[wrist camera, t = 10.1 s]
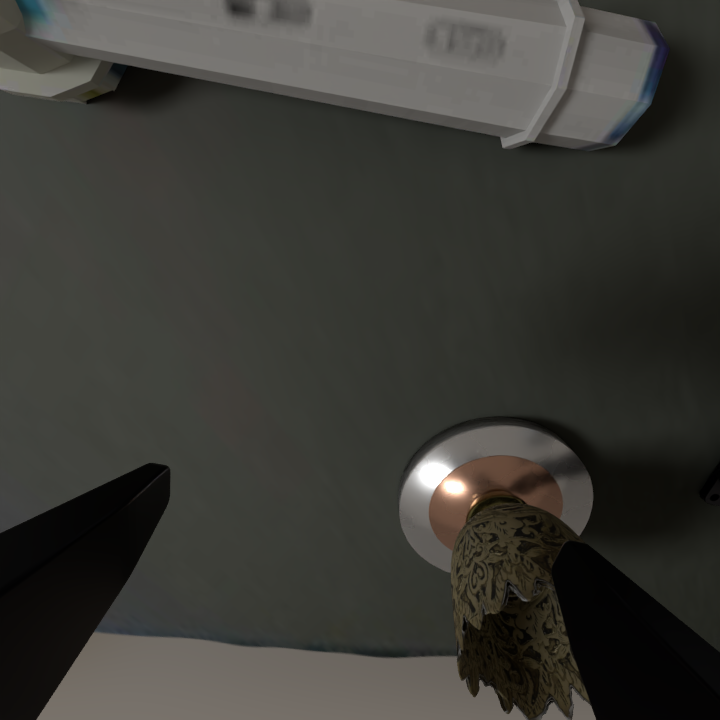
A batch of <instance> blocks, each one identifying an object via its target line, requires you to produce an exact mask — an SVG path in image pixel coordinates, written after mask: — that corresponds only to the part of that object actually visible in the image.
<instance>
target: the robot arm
mask: <svg viewBox="0 0 720 720" xmlns="http://www.w3.org/2000/svg"><path fill="white" fill-rule="evenodd" d="M700 497H701V498H702V499H703V500H704V501H705V502H707V503H708V504H711V505H717V506H720V463H719V464H718V466H717V467H716V469H715V471H714V472H713V474H712V475H711V477H710V478H709V480H708V481H707V483H706V484H705V486H704V487H703V489H702V490H701V492H700ZM169 498H170V468H169V467H168V466H166V465H161V464H156V463H148V464H146V465H143V466H141V467H139V468H137V469H135V470H133V471H131V472H129V473H127V474H124V475H122V476H120V477H118V478H116V479H114V480H112V481H110V482H108V483H105V484H103V485H101V486H99V487H97V488H95V489H93V490H91V491H89V492H86V493H84V494H82V495H80V496H78V497H76V498H74V499H72V500H70V501H67V502H65V503H63V504H61V505H59V506H57V507H55V508H53V509H51V510H48V511H46V512H44V513H42V514H40V515H38V516H36V517H34V518H32V519H29V520H27V521H25V522H23V523H21V524H19V525H17V526H15V527H13V528H10V529H8V530H6V531H4V532H2V533H0V720H36V719H37V718H38V716H39V715H40V713H41V712H42V710H43V709H44V707H45V705H46V704H47V703H48V701H49V699H50V698H51V696H52V695H53V693H54V692H55V690H56V689H57V687H58V685H59V684H60V683H61V681H62V680H63V678H64V676H65V675H66V674H67V672H68V670H69V669H70V667H71V666H72V664H73V663H74V661H75V659H76V658H77V657H78V655H79V654H80V652H81V651H82V649H83V648H84V646H85V644H86V643H87V641H88V640H89V638H90V637H91V635H92V634H93V632H94V631H95V629H96V628H97V626H98V625H99V623H100V622H101V620H102V619H103V617H104V615H105V614H106V612H107V611H108V609H109V608H110V606H111V605H112V603H113V602H114V600H115V599H116V597H117V596H118V594H119V593H120V591H121V590H122V588H123V586H124V585H125V583H126V582H127V580H128V578H129V577H130V575H131V573H132V572H133V570H134V568H135V566H136V564H137V562H138V561H139V559H140V557H141V555H142V553H143V551H144V549H145V547H146V545H147V543H148V541H149V540H150V538H151V536H152V534H153V532H154V530H155V528H156V526H157V524H158V522H159V520H160V519H161V517H162V515H163V513H164V511H165V509H166V507H167V505H168V502H169ZM551 574H552V579H553V583H554V587H555V591H556V594H557V598H558V602H559V606H560V609H561V613H562V617H563V621H564V624H565V628H566V632H567V636H568V639H569V643H570V646H571V649H572V653H573V656H574V659H575V662H576V665H577V667H578V670H579V673H580V676H581V679H582V681H583V684H584V687H585V690H586V692H587V695H588V698H589V701H590V703H591V706H592V709H593V712H594V715H595V717H596V720H720V652H719V651H717V650H716V649H715V648H714V647H712V646H711V645H710V644H709V643H708V642H706V641H705V640H704V639H703V638H701V637H700V636H699V635H698V634H697V633H695V632H694V631H693V630H692V629H690V628H689V627H688V626H687V625H686V624H684V623H683V622H682V621H681V620H679V619H678V618H677V617H676V616H675V615H673V614H672V613H671V612H670V611H669V610H667V609H666V608H665V607H664V606H662V605H661V604H660V603H659V602H658V601H656V600H655V599H654V598H653V597H651V596H650V595H649V594H648V593H647V592H645V591H644V590H643V589H642V588H640V587H639V586H638V585H637V584H636V583H634V582H633V581H632V580H631V579H629V578H628V577H627V576H626V575H625V574H623V573H622V572H621V571H620V570H618V569H617V568H616V567H615V566H614V565H612V564H611V563H610V562H609V561H607V560H606V559H605V558H604V557H603V556H601V555H600V554H599V553H598V552H596V551H595V550H594V549H593V548H592V547H590V546H589V545H588V544H586V543H583V542H578V541H572V540H567V541H566V542H564V544H563V545H562V547H561V549H560V551H559V553H558V555H557V557H556V559H555V561H554V562H553V565H552V569H551Z"/></svg>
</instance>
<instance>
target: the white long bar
mask: <svg viewBox="0 0 720 720" xmlns="http://www.w3.org/2000/svg"><path fill="white" fill-rule="evenodd" d="M669 50H670V48H669V46H668V45H667V43H666V41H665V39H664V37H663V35H662V34H661V32H660V30H659V28H658V26H657V25H656V23H655V22H651V21H646V20H642V19H637V18H633V17H628V16H624V15H619V14H614V13H610V12H605V11H601V10H596V9H592V8H587V7H582V6H580V5H579V3H578V0H0V90H2V91H5V92H8V93H10V94H13V95H19V96H26V97H33V98H40V99H46V100H53V101H60V102H62V101H69V102H75V103H82V104H87V102H86V100H89V99H91V98H94V97H96V96H99V95H102V94H104V93H107V92H109V91H112V90H113V91H115V89H116V87H117V85H118V83H119V82H120V80H121V78H122V76H123V74H124V72H125V70H126V68H127V66H128V65H130V66H135V67H140V68H145V69H150V70H156V71H161V72H166V73H171V74H176V75H182V76H187V77H192V78H197V79H202V80H208V81H213V82H218V83H223V84H228V85H234V86H239V87H244V88H249V89H254V90H260V91H265V92H270V93H275V94H280V95H286V96H291V97H296V98H301V99H306V100H312V101H317V102H322V103H327V104H332V105H338V106H343V107H348V108H353V109H358V110H363V111H369V112H374V113H379V114H384V115H389V116H395V117H400V118H405V119H410V120H415V121H421V122H426V123H431V124H436V125H441V126H447V127H452V128H457V129H462V130H467V131H473V132H478V133H483V134H488V135H493V136H499V137H500V138H501V142H502V147H503V148H506V149H512V148H515V147H518V146H522V145H525V144H528V143H531V142H534V143H541V144H547V145H553V146H559V147H566V148H572V149H578V150H584V151H592V150H597V149H601V148H606V147H611V146H615V145H617V144H618V142H619V141H620V140H621V139H622V138H623V137H624V135H625V134H626V133H627V132H628V131H629V129H630V128H631V127H632V126H633V125H634V124H635V122H636V121H637V120H638V119H639V118H640V117H641V115H642V114H643V113H644V112H645V111H646V109H647V108H648V107H649V106H650V105H651V103H652V100H653V97H654V94H655V91H656V88H657V85H658V82H659V79H660V76H661V73H662V70H663V67H664V64H665V62H666V59H667V56H668V53H669Z"/></svg>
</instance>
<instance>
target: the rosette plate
mask: <svg viewBox="0 0 720 720" xmlns="http://www.w3.org/2000/svg"><path fill="white" fill-rule="evenodd" d="M494 491H505V492H509V493H512V494H514V495H516V496H518V497H519V498H521V499H522V500H524V501H525V502H526V503H527V504H528V505H532V506H535V507H538V508H540V509H543V510H545V511H548V512H549V513H551V514H553V515H554V516H556V517H557V518H559V519H560V520H562V521H563V522H564V523H565V524H567V525H568V526H569V527H570V528H571V529H572V530H573V531H574V532H575V533H576V534H577V535H578V536H580V534H581V533H582V531H583V530H584V528H585V526H586V524H587V522H588V520H589V517H590V514H591V510H592V505H593V487H592V483H591V479H590V476H589V474H588V472H587V469H586V468H585V466H584V465H583V463H582V462H581V460H580V459H579V458H578V456H577V455H576V454H575V453H574V452H573V451H572V449H571V448H570V447H569V446H568V445H567V444H566V443H565V442H564V441H563V440H562V439H561V438H560V437H559V436H557V435H556V434H555V433H554V432H552V431H550V430H549V429H547V428H545V427H543V426H541V425H538V424H536V423H533V422H530V421H527V420H523V419H518V418H510V417H487V418H479V419H474V420H469V421H466V422H463V423H460V424H457V425H454V426H452V427H450V428H448V429H446V430H444V431H442V432H440V433H439V434H437V435H435V436H434V437H432V438H431V439H430V440H429V441H427V442H426V443H425V444H424V445H423V446H422V447H421V448H420V449H419V450H418V451H417V452H416V453H415V454H414V455H413V457H412V458H411V459H410V461H409V462H408V464H407V466H406V468H405V470H404V472H403V475H402V477H401V480H400V485H399V492H398V502H399V513H400V522H401V525H402V529H403V532H404V534H405V536H406V538H407V540H408V542H409V543H410V544H411V546H412V547H413V549H414V550H415V551H416V552H417V553H418V554H419V555H420V556H421V557H423V558H424V559H425V560H426V561H428V562H429V563H431V564H432V565H434V566H436V567H438V568H440V569H442V570H444V571H446V572H449V573H451V560H452V552H453V548H454V544H455V541H456V538H457V536H458V534H459V533H460V531H461V529H462V528H463V526H464V525H465V524H466V523H465V522H466V515H467V512H468V509H469V507H470V505H471V504H472V503H473V501H474V500H476V499H477V498H478V497H480V496H481V495H483V494H486V493H489V492H494Z"/></svg>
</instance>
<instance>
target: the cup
mask: <svg viewBox="0 0 720 720" xmlns="http://www.w3.org/2000/svg"><path fill="white" fill-rule="evenodd" d="M465 523H466V524H465V525H464V526H463V528H462V529H461V531H460V533H459V534H458V536H457V538H456V541H455V544H454V548H453V552H452V560H451V587H452V602H453V614H454V625H455V635H456V646H457V666H458V671H459V676H460V678H461V680H462V681H463V680H465V679H466V683H467V687H468V690H469V691H470V693H471V694H472V695H473V697H476V695H477V694H478V691H479V680H482V682H483V683H484V686H491V687H493V688H494V690H495V693H496V694H497V695H498V698H499V700H500V704H501V707H502V709H503V710H504V712H506V713H507V714H509V713H510V712H511V710H512V709H513V706H514V705H513V703H514V704H515V705H516V707H517V708H518V710H519V711H520V712H521V713H522V714H523V715H524V717H525V719H526V720H541V719H542V716H543V715H544V714H546V712H547V710H548V707H549V705H550V704H551V703H553V702H554V703H555V704H556V706H557V708H558V710H559V711H561V712H562V713H563V715H564V716H565V717H566V719H567V720H572V716H573V708H574V705H573V701H572V691H571V689H572V688H573V689H574V690H575V692H576V693H577V694H578V695H579V696H580V697H581V699H583V700H585V701H586V702H588V703H589V704H590V705H591V703H590V701H589V698H588V695H587V692H586V690H585V687H584V684H583V681H582V679H581V676H580V673H579V670H578V667H577V665H576V662H575V659H574V656H573V653H572V649H571V646H570V643H569V639H568V636H567V632H566V628H565V624H564V621H563V617H562V613H561V609H560V606H559V602H558V598H557V594H556V591H555V587H554V583H553V579H552V574H551V569H552V565H553V562H554V561H555V559H556V557H557V555H558V553H559V551H560V549H561V547H562V545H563V544H564V542H566V541H567V540H572V541H578V542H583V543H585V542H584V541H583V540H582V539H581V538H580V537H579V536H578V535H577V534H576V533H575V532H574V531H573V530H572V529H571V528H570V527H569V526H568V525H567V524H565V523H564V522H563V521H562V520H560V519H559V518H557V517H556V516H554V515H553V514H551V513H549V512H548V511H545V510H543V509H540V508H538V507H535V506H532V505H528V504H527V503H526V502H525V501H524V500H522V499H521V498H519V497H518V496H516V495H514V494H512V493H509V492H505V491H494V492H489V493H486V494H483V495H481V496H480V497H478V498H477V499H476V500H474V501H473V503H472V504H471V505H470V507H469V509H468V512H467V515H466V522H465ZM479 678H480V679H479ZM550 700H553V701H550ZM549 701H550V702H549ZM548 702H549V703H548ZM547 703H548V704H547ZM546 705H547V706H546Z"/></svg>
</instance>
